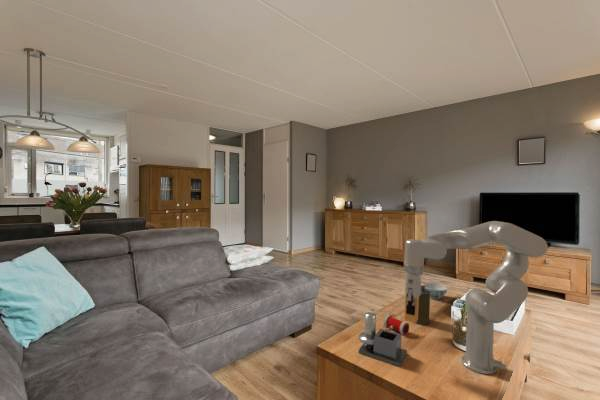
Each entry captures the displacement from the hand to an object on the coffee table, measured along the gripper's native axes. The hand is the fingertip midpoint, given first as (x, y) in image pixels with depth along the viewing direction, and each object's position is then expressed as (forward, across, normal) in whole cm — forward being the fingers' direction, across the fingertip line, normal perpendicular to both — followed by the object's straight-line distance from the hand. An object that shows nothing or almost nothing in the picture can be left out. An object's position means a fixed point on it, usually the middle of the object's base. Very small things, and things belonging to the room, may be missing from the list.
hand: (411, 311), depth 121 cm
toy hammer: (+22, +21, +14) cm, 33 cm away
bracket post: (+22, +1, +13) cm, 26 cm away
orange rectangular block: (+3, 0, 0) cm, 3 cm away
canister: (+22, +45, +4) cm, 50 cm away
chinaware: (+21, +90, +1) cm, 93 cm away
